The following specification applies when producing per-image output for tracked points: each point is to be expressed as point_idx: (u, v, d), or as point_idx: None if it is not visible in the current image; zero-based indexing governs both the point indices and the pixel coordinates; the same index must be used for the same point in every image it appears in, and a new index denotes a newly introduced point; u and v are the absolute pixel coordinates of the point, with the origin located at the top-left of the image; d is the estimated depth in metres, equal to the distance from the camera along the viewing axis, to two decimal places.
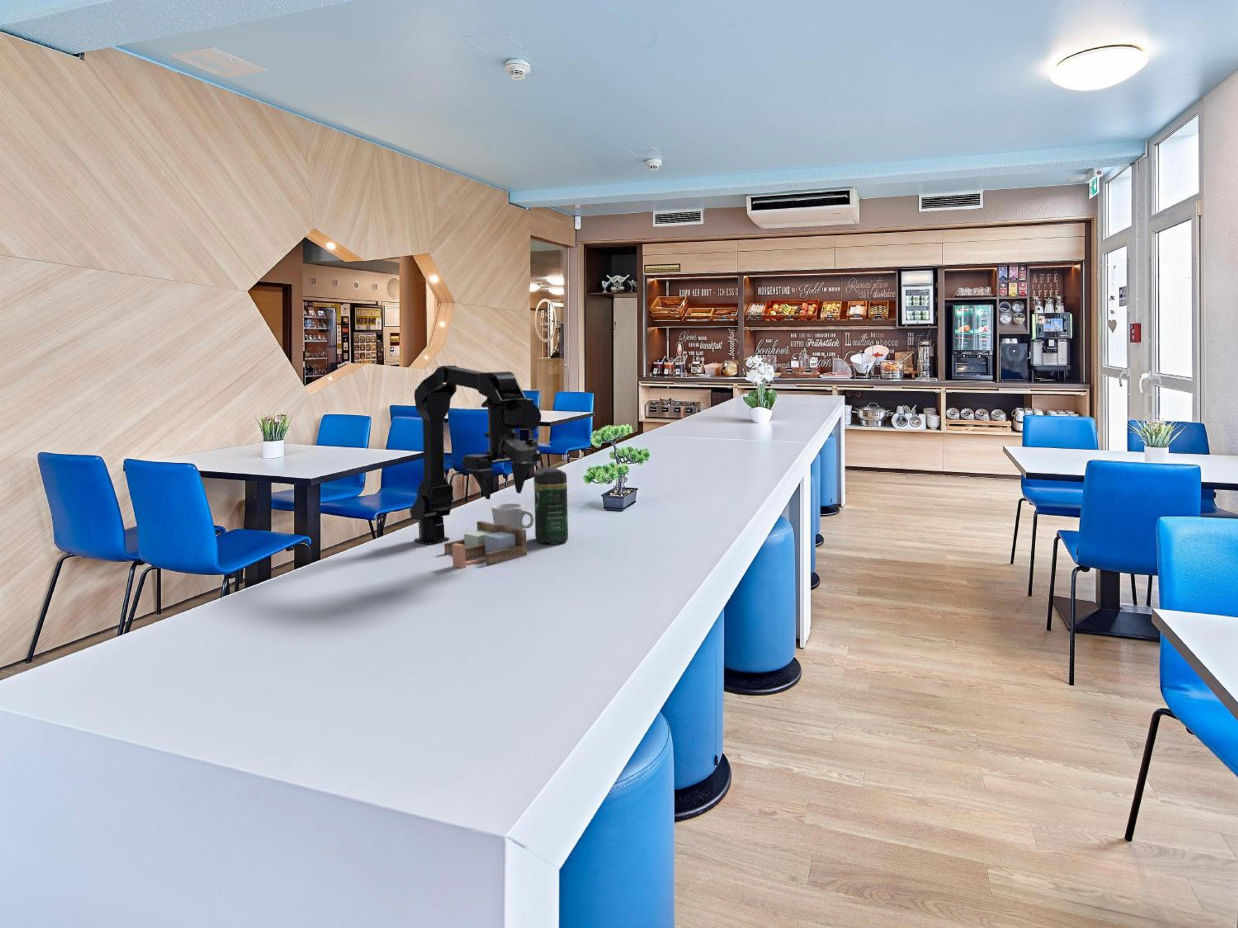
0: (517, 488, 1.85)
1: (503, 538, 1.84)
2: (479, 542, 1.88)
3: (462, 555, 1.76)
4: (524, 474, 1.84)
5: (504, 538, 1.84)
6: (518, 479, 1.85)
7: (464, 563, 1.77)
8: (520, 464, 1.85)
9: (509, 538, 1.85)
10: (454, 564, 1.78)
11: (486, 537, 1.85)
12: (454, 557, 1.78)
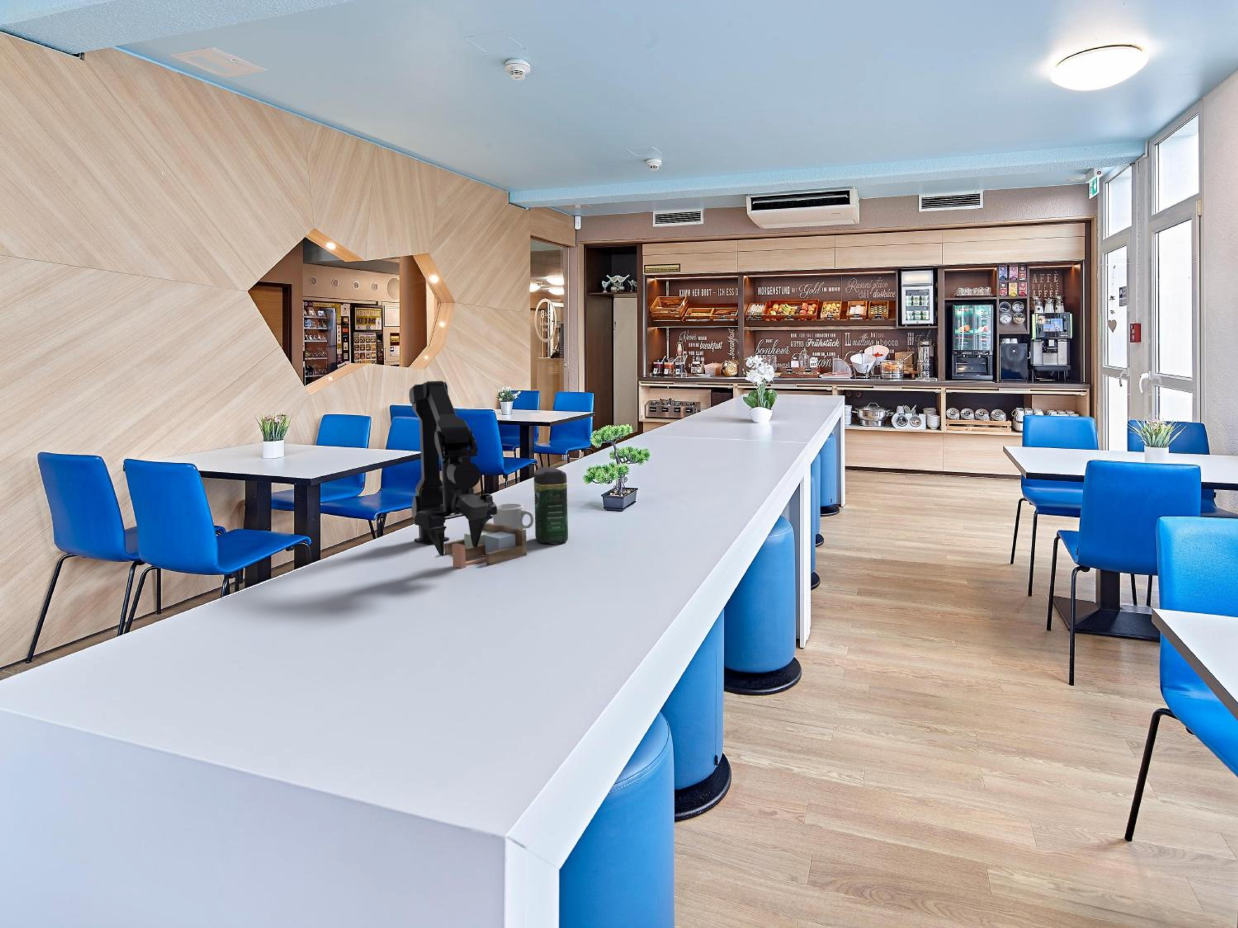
0: (474, 542, 1.80)
1: (503, 538, 1.84)
2: (479, 542, 1.88)
3: (462, 555, 1.76)
4: (480, 528, 1.80)
5: (504, 538, 1.84)
6: (474, 533, 1.80)
7: (464, 563, 1.77)
8: (476, 518, 1.80)
9: (509, 538, 1.85)
10: (454, 564, 1.78)
11: (486, 537, 1.85)
12: (454, 557, 1.78)
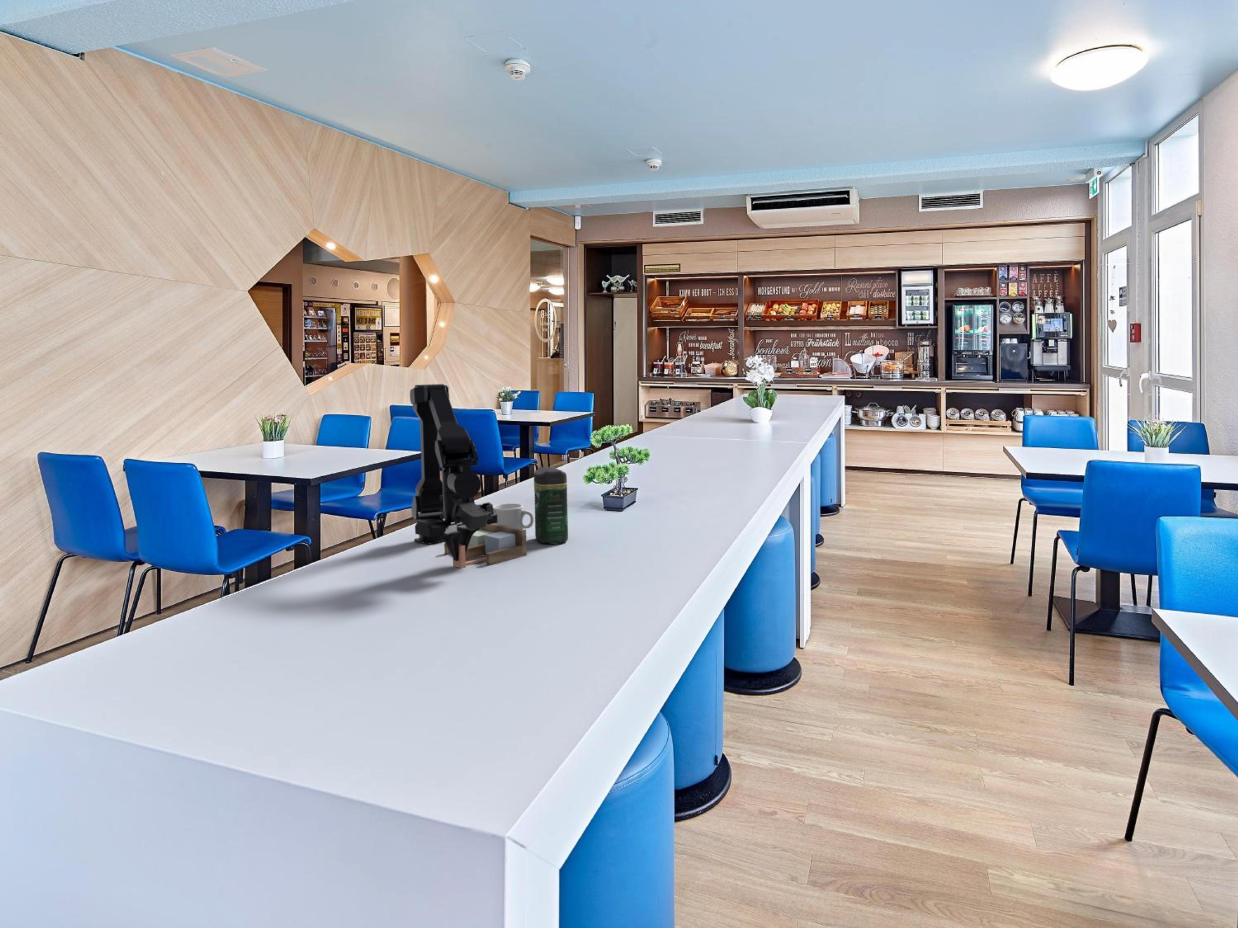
0: None
1: (503, 538, 1.84)
2: (479, 542, 1.88)
3: (462, 555, 1.76)
4: (467, 540, 1.77)
5: (504, 538, 1.84)
6: None
7: (464, 563, 1.77)
8: (463, 529, 1.77)
9: (509, 538, 1.85)
10: (454, 564, 1.78)
11: (486, 537, 1.85)
12: None
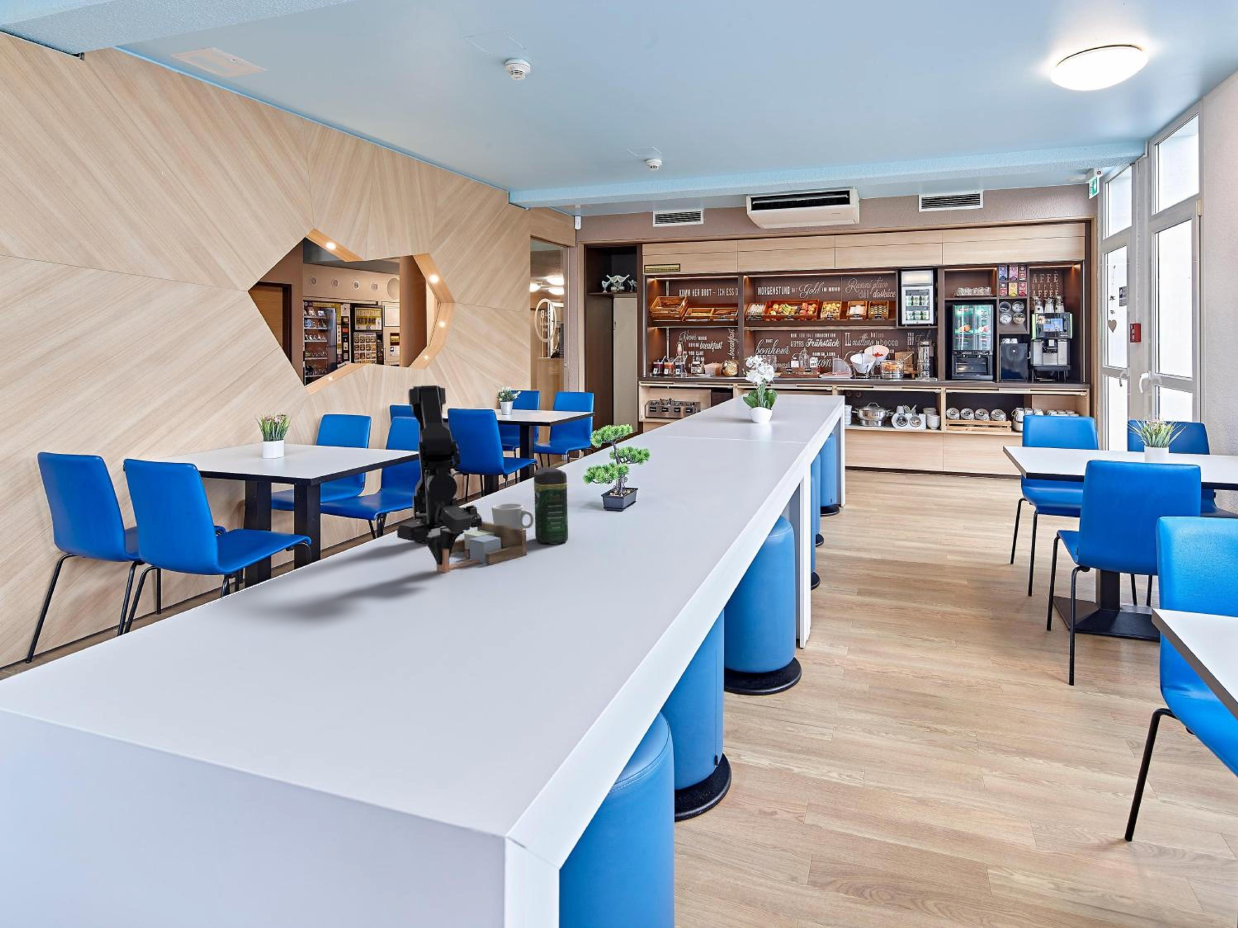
0: None
1: (488, 542, 1.80)
2: None
3: (446, 559, 1.73)
4: (451, 543, 1.74)
5: (489, 542, 1.80)
6: (445, 548, 1.74)
7: (448, 567, 1.73)
8: (447, 533, 1.74)
9: (494, 542, 1.82)
10: (438, 568, 1.74)
11: (471, 541, 1.82)
12: None
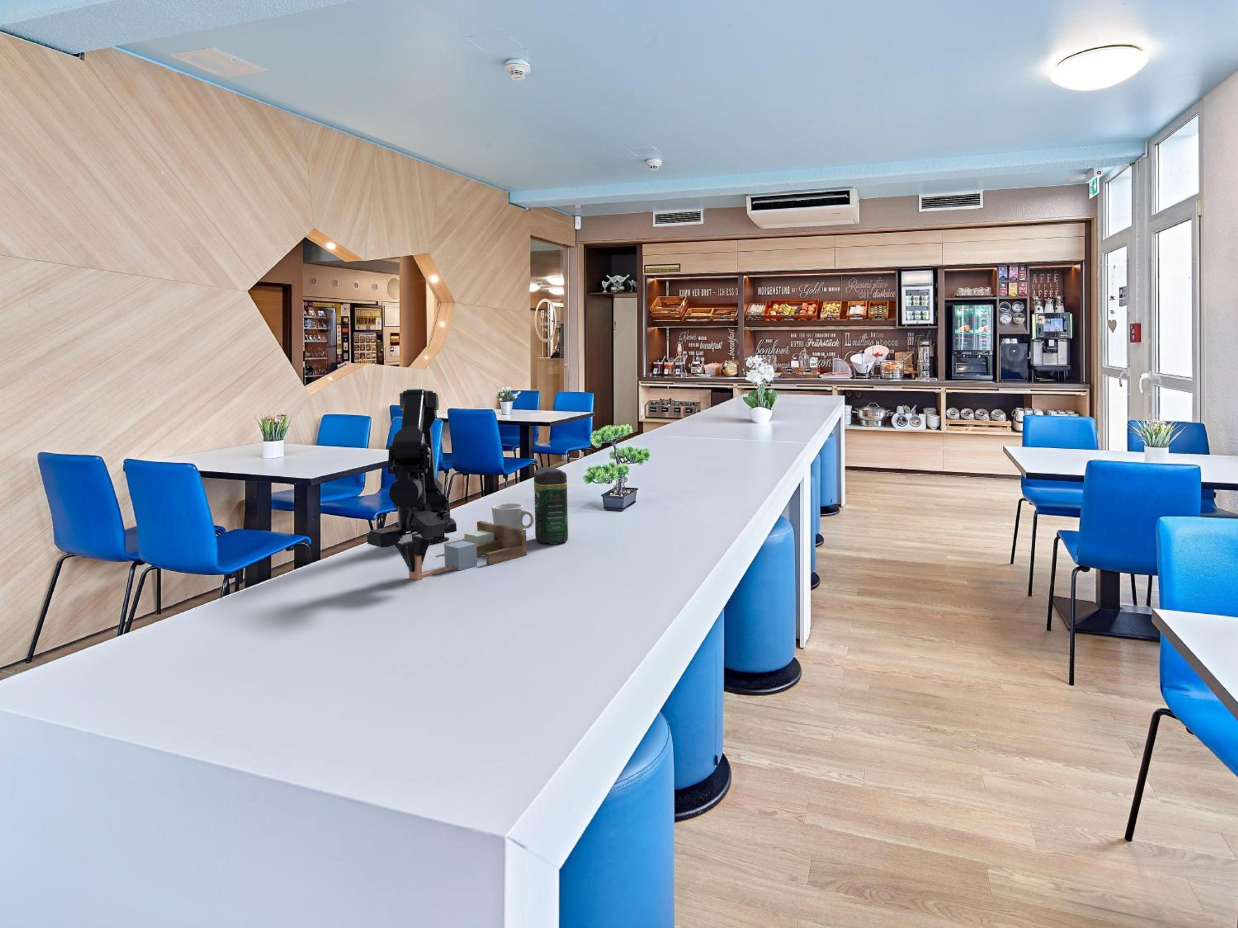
0: None
1: (463, 548, 1.75)
2: (479, 542, 1.88)
3: (418, 566, 1.68)
4: (424, 550, 1.68)
5: (464, 548, 1.75)
6: None
7: (420, 575, 1.68)
8: (419, 539, 1.69)
9: (470, 548, 1.76)
10: (410, 576, 1.69)
11: (446, 547, 1.77)
12: None
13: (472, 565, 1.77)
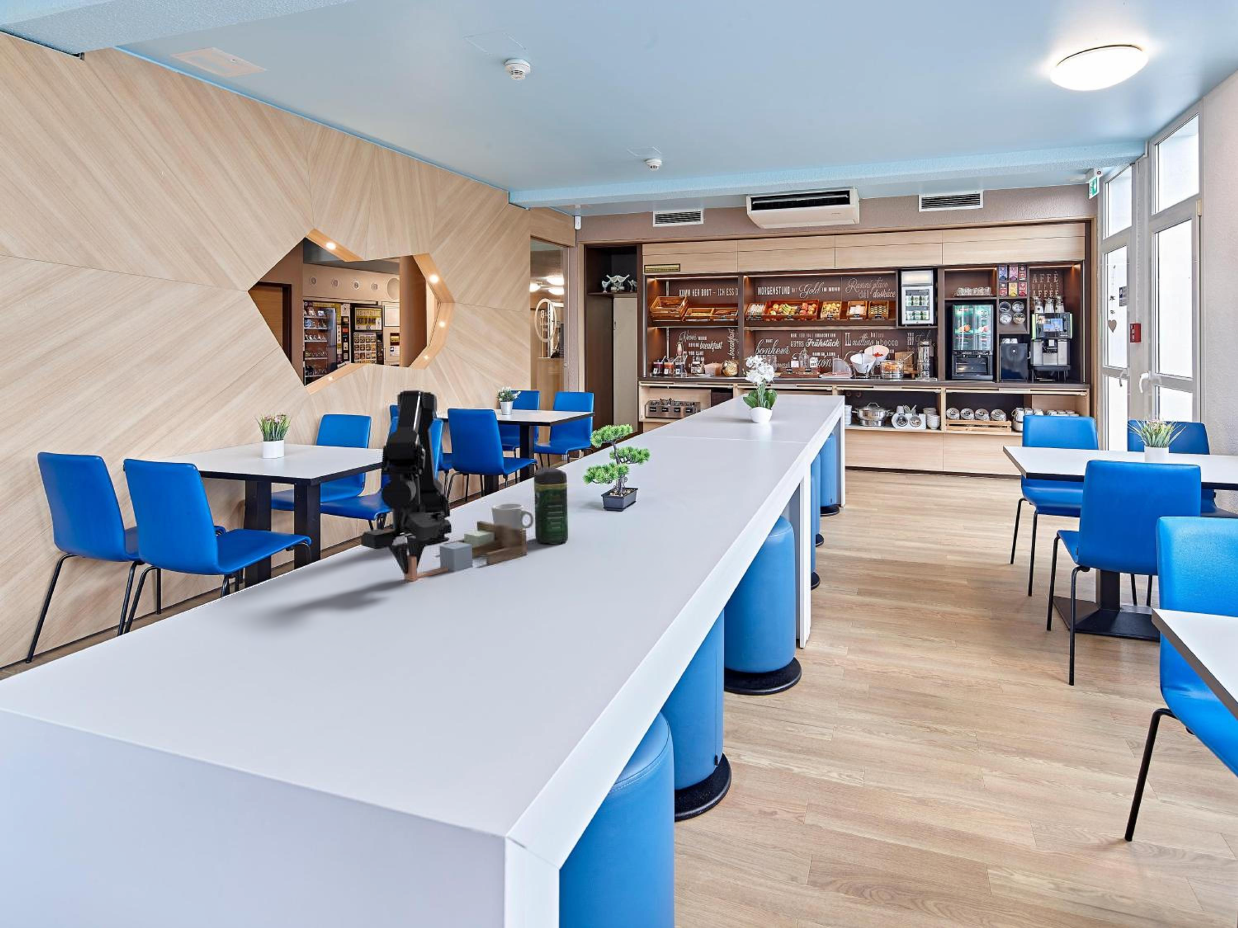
0: None
1: (458, 549, 1.74)
2: (479, 542, 1.88)
3: (413, 567, 1.67)
4: (419, 551, 1.68)
5: (459, 549, 1.74)
6: None
7: (416, 576, 1.67)
8: (415, 540, 1.68)
9: (465, 549, 1.76)
10: (405, 577, 1.68)
11: (441, 548, 1.76)
12: None
13: (467, 566, 1.76)
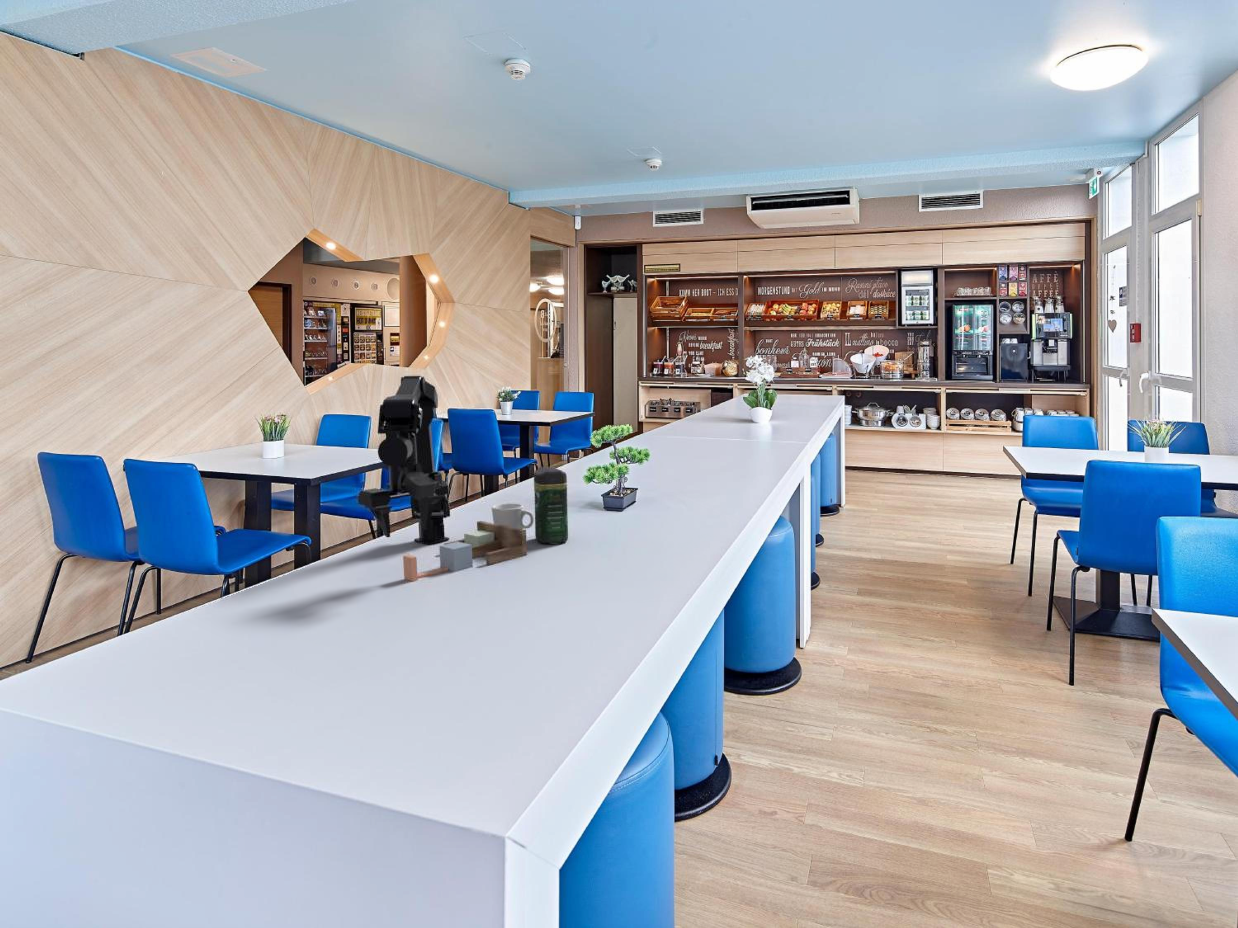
0: (424, 523, 1.71)
1: (458, 549, 1.74)
2: (479, 542, 1.88)
3: (413, 567, 1.67)
4: (430, 508, 1.70)
5: (459, 549, 1.74)
6: (424, 514, 1.70)
7: (416, 576, 1.67)
8: (426, 498, 1.70)
9: (465, 549, 1.76)
10: (405, 577, 1.68)
11: (441, 548, 1.76)
12: (405, 569, 1.68)
13: (467, 566, 1.76)
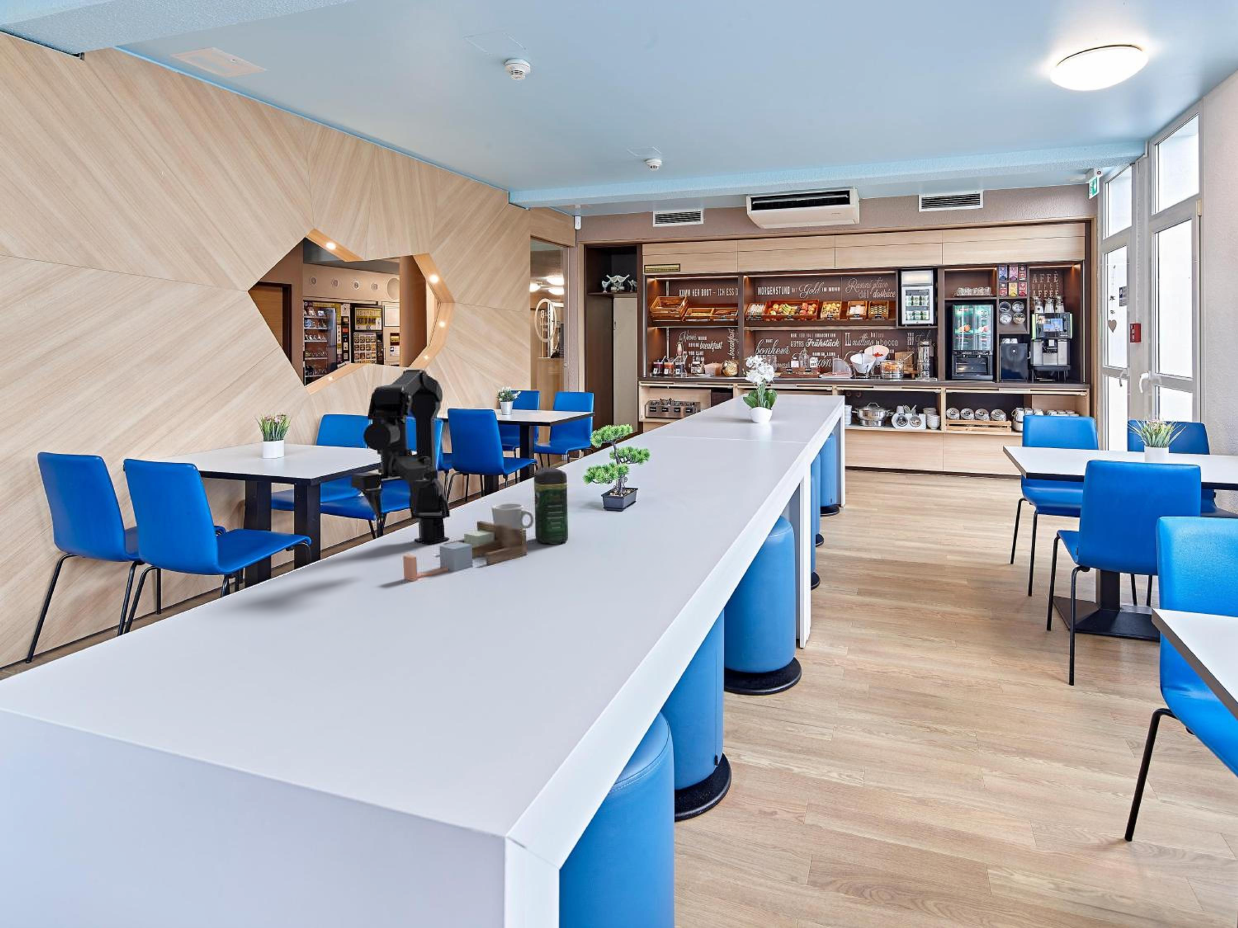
0: (414, 507, 1.78)
1: (458, 549, 1.74)
2: (479, 542, 1.88)
3: (413, 567, 1.67)
4: (420, 492, 1.78)
5: (459, 549, 1.74)
6: (414, 497, 1.78)
7: (416, 576, 1.67)
8: (416, 482, 1.78)
9: (465, 549, 1.76)
10: (405, 577, 1.68)
11: (441, 548, 1.76)
12: (405, 569, 1.68)
13: (467, 566, 1.76)
